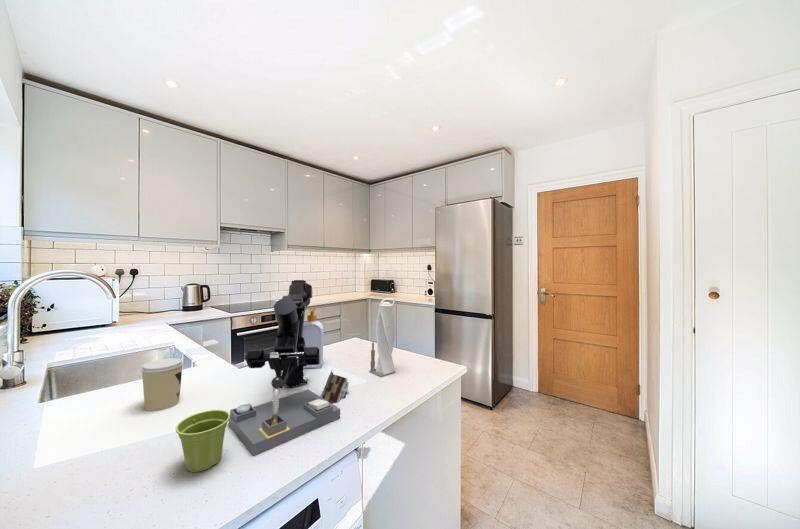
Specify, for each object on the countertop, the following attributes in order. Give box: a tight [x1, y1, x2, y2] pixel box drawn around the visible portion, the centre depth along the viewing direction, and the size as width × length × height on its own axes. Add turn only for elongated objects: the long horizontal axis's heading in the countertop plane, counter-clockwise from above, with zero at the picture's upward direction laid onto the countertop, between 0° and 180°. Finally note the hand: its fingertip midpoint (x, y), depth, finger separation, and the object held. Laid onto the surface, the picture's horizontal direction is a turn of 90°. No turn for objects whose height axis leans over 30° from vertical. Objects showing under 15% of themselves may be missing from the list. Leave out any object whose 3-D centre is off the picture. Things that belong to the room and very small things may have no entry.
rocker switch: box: [308, 399, 329, 410], centre depth 79 cm, size 5×3×1 cm, turn 46°
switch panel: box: [227, 388, 341, 456], centre depth 77 cm, size 17×22×4 cm
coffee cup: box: [140, 357, 184, 412], centre depth 86 cm, size 9×9×12 cm
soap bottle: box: [302, 307, 325, 370], centre depth 118 cm, size 9×7×23 cm
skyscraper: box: [368, 297, 397, 378], centre depth 113 cm, size 8×8×28 cm
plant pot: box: [175, 409, 230, 473], centre depth 61 cm, size 9×9×9 cm
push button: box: [236, 403, 251, 415], centre depth 75 cm, size 3×3×1 cm
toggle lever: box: [270, 377, 283, 426], centre depth 71 cm, size 3×3×11 cm
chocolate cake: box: [319, 369, 350, 404], centre depth 93 cm, size 10×7×12 cm
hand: (280, 388), depth 76 cm, fingers closed
